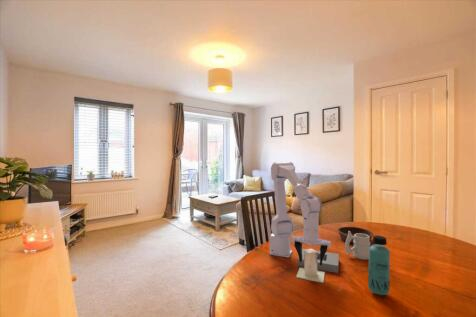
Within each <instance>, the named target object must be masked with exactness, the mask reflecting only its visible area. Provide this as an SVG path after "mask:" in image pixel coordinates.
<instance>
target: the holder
mask: <svg viewBox="0 0 476 317" xmlns="http://www.w3.org/2000/svg"><path fill="white" fill-rule="evenodd" d="M306 249H307V248H302V262H300V260H299V257H298V258H297V267H300V268H304V250H306ZM316 251H317V271H323V272H329V273H330V272H331V273H336V274H339V265H340V264H339V260H340V259H339V257H340V256H339V254H340V253H334V252H328V251H326V253H325V255H324V257H323V261H322V265H320V250H316Z"/></svg>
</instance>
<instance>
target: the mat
mask: <svg viewBox="0 0 476 317" xmlns="http://www.w3.org/2000/svg"><path fill="white" fill-rule="evenodd" d="M325 275H326V271H323V270H317V276H316V277H308V276H306V275H305V274H304V267H299V268H298V271H297V274H296V276H295V277H296V278H297V279H302V280H306V281H312V282H317V283H322V284H324V282H325Z"/></svg>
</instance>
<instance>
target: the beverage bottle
mask: <svg viewBox="0 0 476 317" xmlns="http://www.w3.org/2000/svg"><path fill="white" fill-rule="evenodd" d="M373 243H374V244H373ZM390 255H391V251H390V250H389V249H388V247H387V238H386V237H385V236H383V235H373V237H372V245H370V247H369V259H368V270H367V272H368V274H367V287H368V289H369V291H371V292H372V293H374V294H377V295H379V296H386V295H388V294H389V293H390V289H391V283H390V282H391V281H390V276H391V275H390V269H391V268H390V267H391V264H390V262H391V261H390V260H391V259H390Z"/></svg>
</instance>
